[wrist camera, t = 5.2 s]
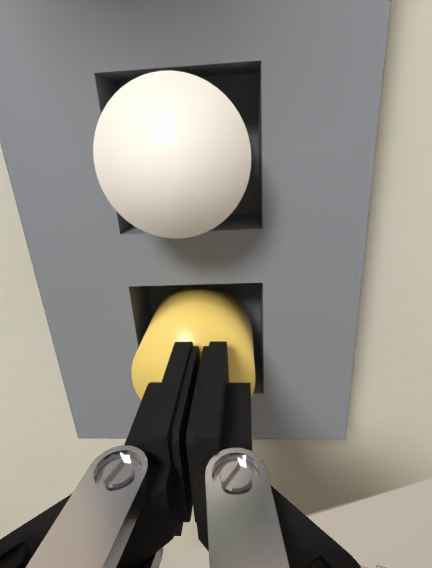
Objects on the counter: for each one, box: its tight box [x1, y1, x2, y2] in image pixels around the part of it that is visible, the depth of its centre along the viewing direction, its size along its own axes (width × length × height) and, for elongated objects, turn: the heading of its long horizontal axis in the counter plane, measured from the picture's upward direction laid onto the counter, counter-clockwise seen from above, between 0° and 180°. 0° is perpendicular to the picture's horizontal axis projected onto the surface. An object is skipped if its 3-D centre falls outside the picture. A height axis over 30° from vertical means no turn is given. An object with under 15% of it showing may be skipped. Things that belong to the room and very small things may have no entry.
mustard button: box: [131, 285, 255, 400], centre depth 14 cm, size 4×4×3 cm
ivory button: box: [93, 71, 251, 239], centre depth 11 cm, size 4×4×3 cm
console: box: [0, 0, 391, 439], centre depth 13 cm, size 24×12×4 cm, turn 3°
